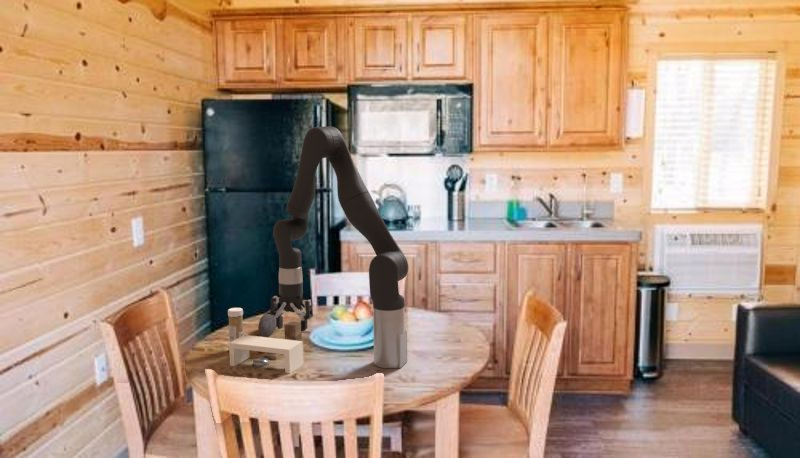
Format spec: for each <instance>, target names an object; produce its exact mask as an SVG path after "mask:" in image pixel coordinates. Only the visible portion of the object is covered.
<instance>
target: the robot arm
mask: <svg viewBox="0 0 800 458" xmlns="http://www.w3.org/2000/svg"><path fill="white" fill-rule="evenodd" d="M299 157H300V158H299V163H298V169H297V174H296V178H295V180H294V181H295V182H294V185H293V189H292V191H291V193H290V195H289V196H290V197H289V198H288V202H287V204H286V212H287V213H288V214H289V215H290V216H291V218H286V219H280V220H278V221H276V222H275V223H274V226H273V231H272V235H273V239H274V243H275V245H276V249H277V253H278V262H279V263H278V264H279V265H278V267H279V268H278V269H279V270H278V295H279V297H278V296H277V295H274V296H272V297H271V298H270V306H269V307H270V309H269V310H270V314H271V315H274V316H275V317H276V326H277V329H278V330H281V329H282V328H284V322H283V321H284V320H283V319H284V318H283V314H284V313H286V312H287V313H289V312H290V313H296V315H297V316H298V317H299V319H301V320H300V322H301V331H302V332H306V330H307V329H308V320H310V319H312V318H314V312H313V301H312V299H311V298H310V299H309V298H308V299H304V297H303V294H304V289H303V287H304V285H303V284H304V280H303V269H302V265H303V264H302V252H301V250H300V249H299V248H298V247H297V248H296V247H293V245H292V242H293V241H299V240H301V239H303V237H304V236H305V235H306V233H307V231H308V223H309V213H310V210H311V208H312V205H313V202H314V199H315V197H316V196H315V195H316V172H317V169H318V167H319V165H320V164H321V161H322V160H323V159H327V160H328V161H329V163H330V165H331V167H332V169H333V171H334V174H335V177H336V184H337V185H336V186H337V187H336V188H337V189H336V190H337V191H336V192H337V198H338V199H337V200H338V203H339V205H340V207H341V209H342V211H343V213H344V215H345V217H346V219H347V220H348V221H349V223H350V224H351V225H352V226H353V227H354V228H355V229H356V231H358V233H359V234H361V235H362V236H363V237H364V238H365V239H366V240H367V241H368V243H369V244H370V246H371V247H372V249H373V251H374V253H375V255H376V256H374V257H372V259H371V261H370V264H369V267H368V280H369V281H368V282H369V285H368V286H369V296H370V299H371V300H372V311H373V312H372V322H373V323H372V324H373V325H372V328H373V332H372V333H373V364H374V366H376V367H378V368H381V369H401V368H403V366H404V365H405V364H406V363H407V362H408V331H407V330H405V327H406V325H405V324H406V322H405V320H406V319H405V318H406V317H405V315H406V314H405V312H406V311H405V310H406V309H405V297H404V296H403V295H401V294H400V291H399V282H400V281H402V280H403V279H404V278H406V276H407V275H408V273H409V263H408V260H407V258H406V256H405V254H404V253H403V251H402V249H401V248H400V247H399V245H398V244H397V242H396V240H395V239H394V237H393V236H392V233H390V231H389V229H388V227H387V225H386V223H385V221H384V219H383V218H382V215H381V213H380V211H379V209H378V207H377V205H376V203H375V201H374V199H373V197H372V195H371V193H370V191H369V190H368V188H367V186H366V184H365V183H364V181H363V178H362V176H361V175H360V173H359V170H358V169H357V167H356V164H355V162H354V159H353V158H352V154H351V152H350V150H349V147H348V145H347V143H346V140H345V138H344V136H343V134H342V132H341V131H340V130H339V129H338V128H336V127H335V126H314V127H312V128H310V129H308V131H306V133H305V136H304V138H303V143H302V147H301V153H300V156H299ZM278 304H280V307H279V308H278ZM304 307H305V308H304Z"/></svg>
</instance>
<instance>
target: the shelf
mask: <svg viewBox="0 0 800 458" xmlns="http://www.w3.org/2000/svg"><path fill="white" fill-rule="evenodd" d="M228 349H229V350H228V352H229V366H231V367H236V366H237V365H240V364H241V363H243V362H244V361H247V360H248V359H250V351H252V352H253V351H254V352H263V353H268V352H269V353H278V354H284V369H285V370H284V373H286V374H291V373H293V372H294V371H296V370H297V369H299V368H300V367H302V366H303V365H304V364H305V362H304V341H303V340H302V341H296V340H287V339H285V338H277V337H276V338H275V337H269V336H267V337H261V336H260V335H259V336H257V335H249V334H248V335H247V334H244V335H243V336H241V337H239V338H237V339H235V340H234V341H232V342H230V341H229V343H228Z"/></svg>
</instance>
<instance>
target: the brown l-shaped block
mask: <svg viewBox="0 0 800 458" xmlns="http://www.w3.org/2000/svg"><path fill="white" fill-rule="evenodd" d="M283 329H284V339H287V340H296V341H303V339H302V338H303V336H302V335H303V334H302V332H303V331H301V321H294V320H293V321H292V320H290V321H288V322H286V323H283ZM283 356H285V354H278V353H269V352H265V353H264V354H263V358H267V359H268V360H278V359H280V358H281V357H283Z"/></svg>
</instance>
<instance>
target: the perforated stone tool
mask: <svg viewBox="0 0 800 458" xmlns="http://www.w3.org/2000/svg"><path fill="white" fill-rule="evenodd" d="M276 329H278V327H277V326H276V317H275V316H274V315H271V314H270V309H269V310H267V311H266V312H265V313H263V315H262V316H261V318H260V320H259V321H258V327H257V333H258V334H259V337H270V335H271V334H273V333H274V332H275V330H276Z"/></svg>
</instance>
